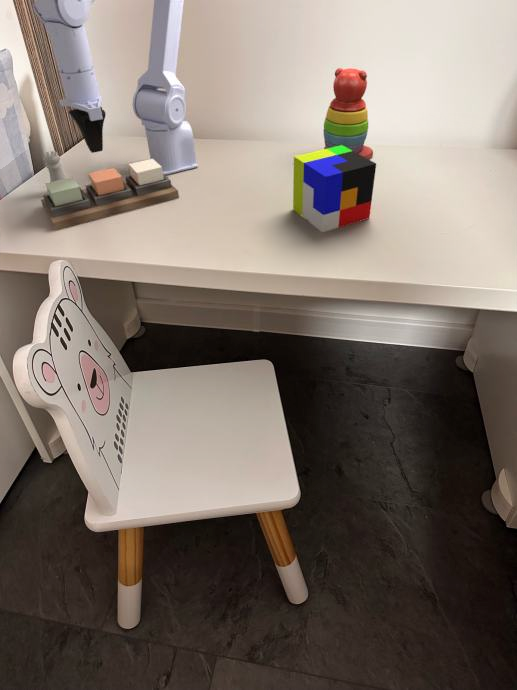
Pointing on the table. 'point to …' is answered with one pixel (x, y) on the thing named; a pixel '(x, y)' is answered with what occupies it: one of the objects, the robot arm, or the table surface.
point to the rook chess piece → (53, 166)
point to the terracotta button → (106, 181)
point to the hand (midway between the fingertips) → (96, 150)
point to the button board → (108, 202)
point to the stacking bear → (348, 113)
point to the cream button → (146, 171)
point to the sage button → (64, 191)
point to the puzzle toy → (333, 187)
